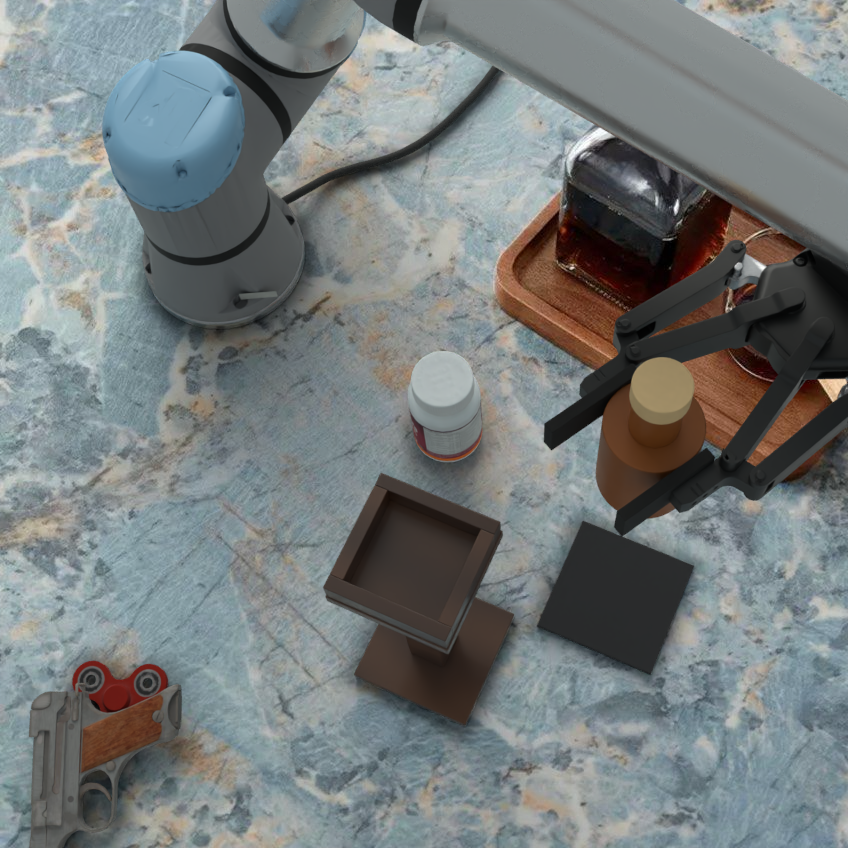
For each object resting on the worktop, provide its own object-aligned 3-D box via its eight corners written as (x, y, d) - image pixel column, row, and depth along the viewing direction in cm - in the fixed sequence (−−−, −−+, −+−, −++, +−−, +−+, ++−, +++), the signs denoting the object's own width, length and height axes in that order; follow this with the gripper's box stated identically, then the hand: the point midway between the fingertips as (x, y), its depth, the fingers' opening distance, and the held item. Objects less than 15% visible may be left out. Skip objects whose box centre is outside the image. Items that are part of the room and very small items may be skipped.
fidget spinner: (118, 761, 106) (113, 760, 105) (50, 711, 108) (44, 709, 107) (177, 679, 108) (172, 676, 107) (109, 631, 110) (104, 628, 109)
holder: (406, 570, 111) (376, 461, 88) (514, 616, 109) (512, 516, 86) (355, 677, 108) (310, 592, 85) (465, 727, 105) (450, 654, 82)
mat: (582, 521, 112) (582, 520, 111) (693, 566, 109) (694, 565, 109) (537, 626, 108) (537, 625, 108) (650, 675, 106) (651, 674, 106)
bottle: (616, 418, 85) (631, 320, 72) (704, 452, 83) (734, 358, 71) (581, 497, 83) (590, 411, 70) (670, 533, 81) (696, 451, 69)
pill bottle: (414, 401, 117) (404, 344, 107) (482, 400, 117) (479, 343, 106) (413, 465, 115) (403, 413, 104) (483, 464, 114) (480, 412, 104)
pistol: (183, 681, 106) (37, 684, 107) (177, 681, 104) (28, 683, 104) (178, 923, 103) (26, 925, 103) (172, 928, 100) (17, 930, 101)
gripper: (977, 408, 80) (681, 626, 76) (769, 199, 87) (488, 389, 83) (1019, 353, 73) (696, 589, 69) (790, 131, 80) (484, 334, 76)
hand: (583, 479), depth 76 cm, fingers closed on bottle, 6 cm apart
